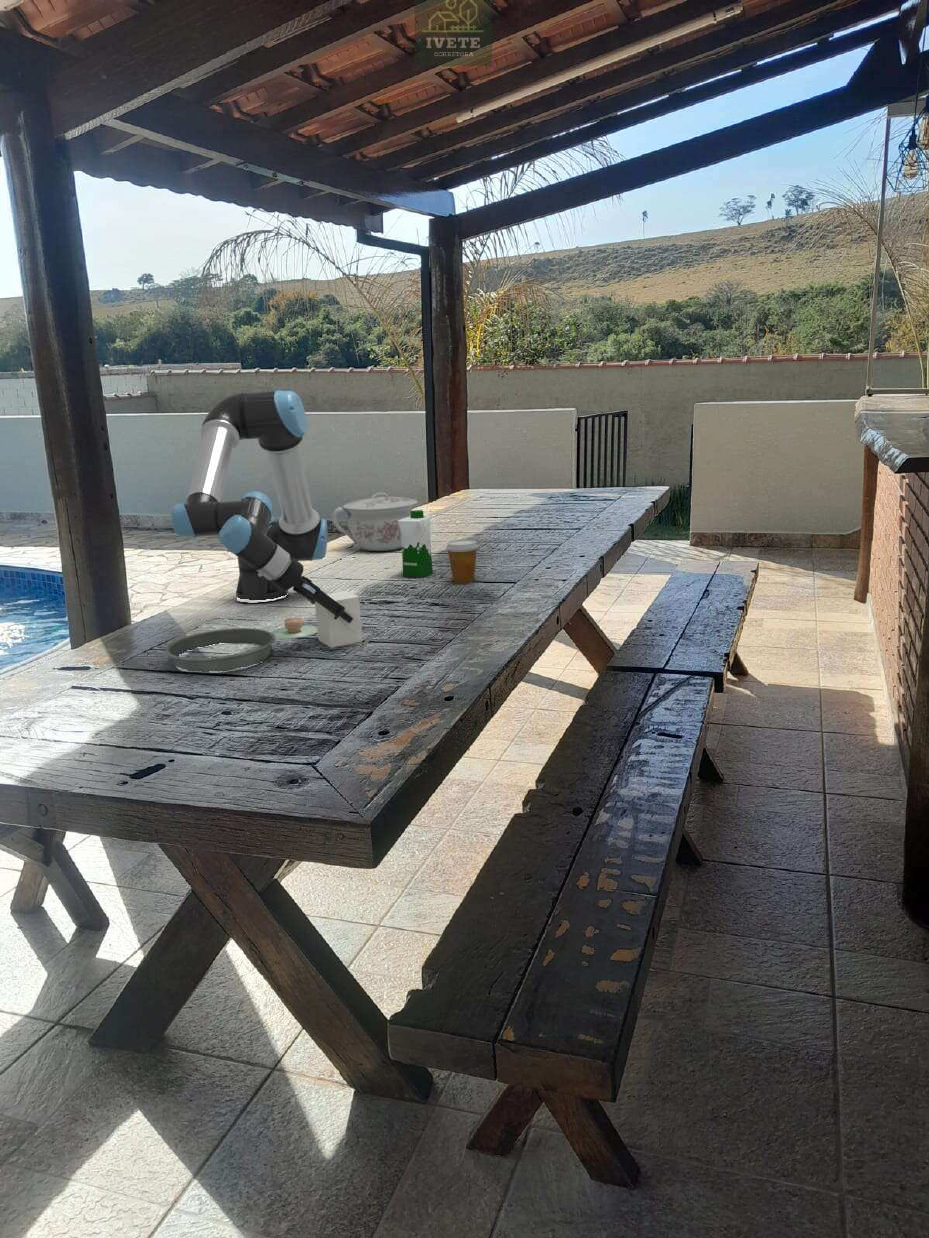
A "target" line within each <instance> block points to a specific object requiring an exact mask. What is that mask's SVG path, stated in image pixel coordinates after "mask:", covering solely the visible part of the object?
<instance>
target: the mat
mask: <svg viewBox="0 0 929 1238" xmlns="http://www.w3.org/2000/svg"><path fill="white" fill-rule="evenodd" d="M373 637H374V634H369V635H368V636H367V637H366V638H365V640H364V641H362V644H361V645H360V646H359V647H358V648H357V651H358V650H359V651H361V650H364V648H365V647H366V646H367V645H368V643H369V642H370V641H371V639H372V638H373Z"/></svg>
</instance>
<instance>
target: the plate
mask: <svg viewBox="0 0 929 1238" xmlns="http://www.w3.org/2000/svg"><path fill="white" fill-rule="evenodd" d="M270 632H271V633H273V634H274V635H275V637H276V638H275V639H285V640H286V639H297V638H298V639H299V638H303V637H308V636H311V635H315V634H316V633H318V629H317V626H315V625H310V624H309V625H307V624H303V627H301V632H298V633H288V629H285V626H283V627H279V628H276V629H274V630H272V631H270Z"/></svg>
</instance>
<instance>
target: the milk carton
mask: <svg viewBox="0 0 929 1238" xmlns="http://www.w3.org/2000/svg"><path fill="white" fill-rule="evenodd" d="M431 519H432V518H431V516H424V510H422V509H420V510H419V509H414V510H412V511H411V517H407V518H403V519H401V520H398V525H399V529H400V533H401V546H402V548H401V557H402V559H401V560H402V577H403V578H418V579H419V578H420V579H423V578H424V577H427V576H429V575H432V574H433V573H434V571H433V559H432V558H433V557H432V541H431Z"/></svg>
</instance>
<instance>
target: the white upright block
mask: <svg viewBox="0 0 929 1238" xmlns="http://www.w3.org/2000/svg"><path fill="white" fill-rule="evenodd" d="M326 594H327V595H328V596H329V597H331V598H332V599H333V600H335V601H336V602H337V603H339V604H340V605H341V606H344V608H345V609H346V610H347V611H348V612H349V613H351V614H352V615H353V616H354V617H356V618H357V619H358V620H360V621H361V622H362V620H361V619H362V618H361V606H360V596H357V595H356V594H354V593H352V592H349V591H346V590H344V591H343V590H342V591H336V592H332V593H326ZM314 607H315V618H316V627H317V629H318V632H317V637H318V638H317V640H318V641H319V642H321V643H322V644H324V645H326V646H328V647H329V648H337V647H342V646H347V645H352V644H356V643H361V642H362V643H363V642H364V641H363V632H362V631H363V630H362V627H361V628H360V630H359V631H358V632H357V633H356V632H354V631H353V630H352V629H351V628H349V627H348V626H347V625H345V624H344V623H343V622H342V621H340V620H339V619H338V618H337V619H336V620H335V619H334V617H335V615H334V614H333V613H331V612H330V611H328V610H327V609H326V608H324V607H323V606H321V605H320V604H319V603H317V602H316V601H315V604H314Z"/></svg>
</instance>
